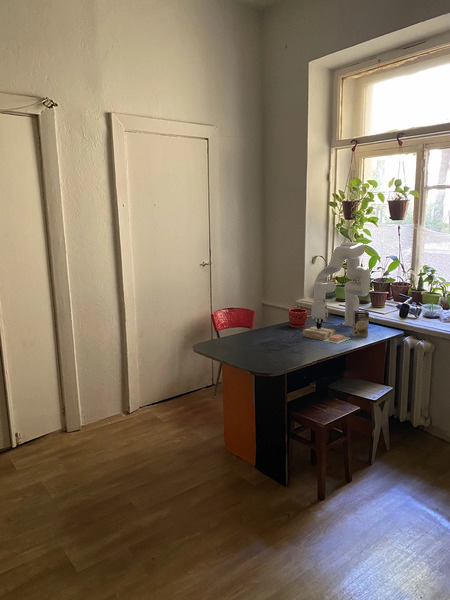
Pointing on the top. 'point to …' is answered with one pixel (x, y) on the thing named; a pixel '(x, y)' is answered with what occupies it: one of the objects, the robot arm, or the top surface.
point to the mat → (338, 341)
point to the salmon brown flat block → (336, 338)
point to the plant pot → (297, 318)
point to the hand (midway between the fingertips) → (318, 328)
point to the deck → (318, 333)
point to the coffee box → (360, 323)
